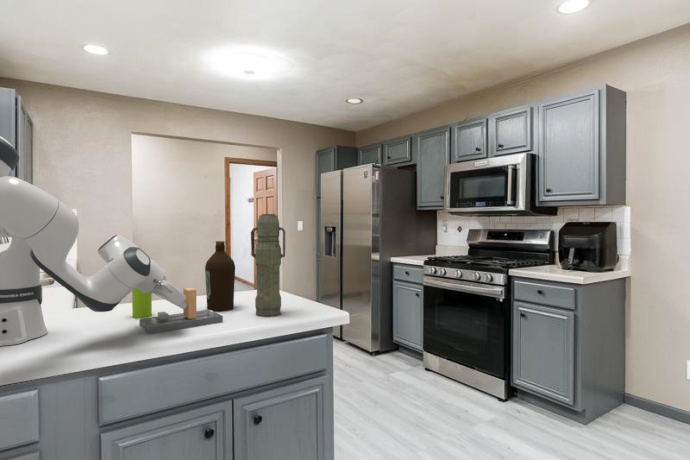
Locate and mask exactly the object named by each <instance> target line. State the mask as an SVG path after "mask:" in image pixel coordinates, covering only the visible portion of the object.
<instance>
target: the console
mask: <svg viewBox="0 0 690 460" xmlns="http://www.w3.org/2000/svg"><path fill="white" fill-rule="evenodd" d="M223 317H224V316H223V315H222V314H219V313H218V312H215V311H212V310H209V309H208V310H207V309H202V310H196V318H192V319H188V318H186V317H184V316H183V312H182V313H181V312H180V313H173V314H169V313H167V312H166V311H160V312H159V311H158V312H157V316H150V317H146V318H138V319H139V320H138V321H139V322H138V323H139V326H140V327H141V328H142V329H143V330H145V331H146V333H148V334H149V335H151V334H157V333H163V332H170V331H175V330H176V331H177V330H182V329H183V330H184V329H187V328H188V329H189V328H193V327H194V328H195V327H201V325H202V326H207V324H208V325H212V324H213V323H214V324H218V323H223V322H224V319H223ZM214 324H213V325H214Z"/></svg>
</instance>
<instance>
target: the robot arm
mask: <svg viewBox="0 0 690 460" xmlns="http://www.w3.org/2000/svg"><path fill="white" fill-rule="evenodd" d="M19 161H20V155H19V152H18V150H17V149H16V148H14V146H13V145H12V143H10V142H9V141H8V140H7V139H6V138H5V137H3V136H1V135H0V238H11V240H10V245H9V246H8V248H7V249H4V250H2V251H1V252H0V347H1V346H3V347H4V346H12V345H19V344H22V343H25V342H27V341H29V340H33V339H37V338H39V337H43V336H44V335H46V334H48V328H47V326H46V323H45V320H44V315H43V310H42V304H43V287H42V284H41V283H40V282H41V280H40V279H41V277H40V276H41V274H40V273H41V271H43V273H45V274H46V275H48V277H50V278H52V279H53V280H54V281H55V282H57V283H58V284H59V285H61V286H62V287H63V288H65V289H66V290H67V291H68V292H70V293H71V294H73V295H74V296H75V297H76V298H77V299H78V300H79V301H80V302H82V303H83V305H85V306H86V307H87V308H88V309H89V310H90V311H93V312H94V313H95V312H97V313H106V312H111V311H113V310H114V309H115V308H116V307H117V306H118V305H119V304H120V303H121V302H122V300H123V299H124V298H126V297H127V296H128V295H130V294H131V293H132V291H133V290H134V289H135V288H138V289H139V290H140V291H141V292H142V293H147V292H150V293H152V294H154V295H155V296H157V297H159V298H162V299H163V300H165V301H166V302H169V303H171V304H173V305H175V306H176V307H179V308H180V309H182V310H183V309H185V308H186V307H187V304H186V303H185V302H184V301H185V299H186V296H185V295H184V294H183V291H180V290H179V289H178V288H177V287H176V286H174V284H172V283H171V282H169V281H167V280H168V277H167V276H166V275H167V270H166V269H164V267H162V266H161V265H160V264H159V263H157V262H156V261H155V260H152V259H153V258H152V259H150V258H151V257H150V256H149V255H148V254H147V253H146V252H144V250H143V249H141V248H140V247H139V246H138V245H136V244H135V243H134V242H133V241H131V240H129V239H128V238H126V237H125V236H124V235H122V234H115V235H113V236H112V237H111V238H109V239H108V240H107V241H105V242H104V243H103V244H102V245H101V246H99V248H98V250H97V254H98V255H99V257H100V258H102V260H103V261H105V262H106V264H105V265H103V267H102V268H101V269H99V270H98V271H97V272H96V273H94V274H93V275H91V276H84V275H83V274H82V273H80V272H79V271H78V270H77V269H75V268H74V267H73V266H72V265H71V264H69V263H68V262H67V257H68V255H69V253H70V251H71V250H72V248H73V246H74V244H75V243H76V240H77V238H78V234H79V230H80V229H79V228H80V224H79V219H78V216H77V214H76V213H75V211H74V210H73V209H72V208H70V206H68V205H67V204H65V203H64V202H62V201H61V200H59V199H58V198H57V197H55V196H54V195H52V194H51V193H49V192H47V191H46V190H44V189H41V188H40V187H39V186H36V185H34V184H32V183H29V182H28V181H26V180H23V179H21V178H19V177H17V176H9V174H10V172H12V171H15V168H17V165H18V163H19Z"/></svg>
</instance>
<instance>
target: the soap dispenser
mask: <svg viewBox="0 0 690 460" xmlns="http://www.w3.org/2000/svg"><path fill="white" fill-rule="evenodd" d="M149 258H150V259H152V260H154V258H152V257H149ZM154 261H155V260H154ZM131 294H132V295H131V297H132V298H131V300H132V301H131V302H132V304H131V305H132V307H131V308H132V318H134V319H143V318H150V317H153V311H152V306H153V305H152V302H153V301H152V299H153V298H152V297H153V296H152V295H153V293H150V292H147V293H142V292H141V291H140V290H139V289H138V288H135V289H134V290H133V291H132V292H131Z"/></svg>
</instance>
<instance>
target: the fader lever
mask: <svg viewBox="0 0 690 460" xmlns="http://www.w3.org/2000/svg"><path fill="white" fill-rule="evenodd" d="M182 293H183V294H184V295H185V296H186V299H185V301H184V302H185V303H186V304H187V307H186V308H185V309H182V313H183V316H184V317H186V318H188V319H192V318H196V311H197V289H196V288H195V287H186V288H185V287H184V288H183V290H182Z"/></svg>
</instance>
